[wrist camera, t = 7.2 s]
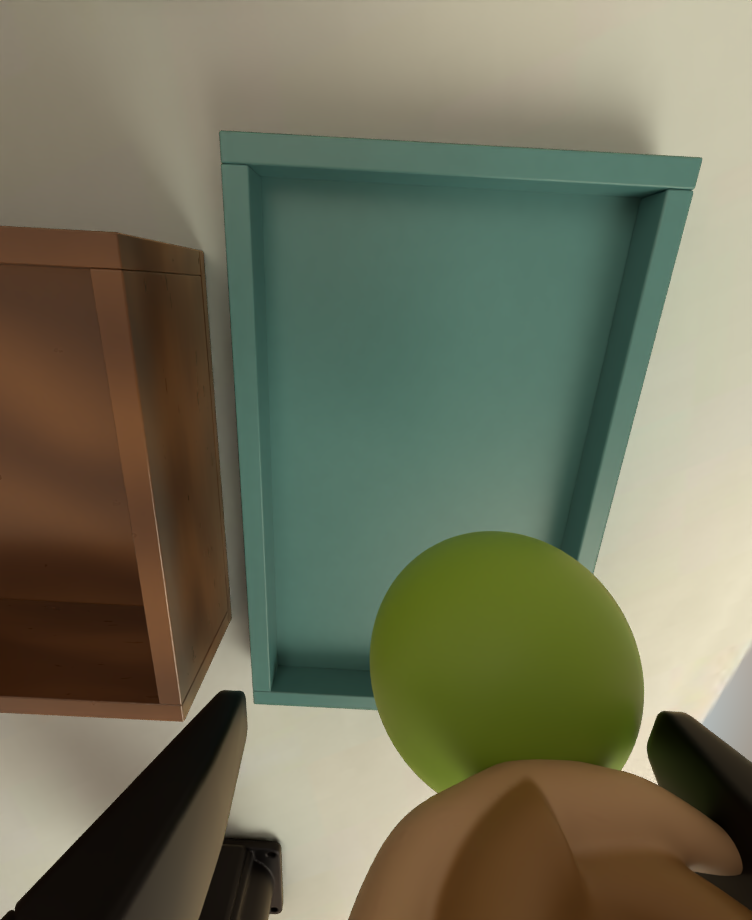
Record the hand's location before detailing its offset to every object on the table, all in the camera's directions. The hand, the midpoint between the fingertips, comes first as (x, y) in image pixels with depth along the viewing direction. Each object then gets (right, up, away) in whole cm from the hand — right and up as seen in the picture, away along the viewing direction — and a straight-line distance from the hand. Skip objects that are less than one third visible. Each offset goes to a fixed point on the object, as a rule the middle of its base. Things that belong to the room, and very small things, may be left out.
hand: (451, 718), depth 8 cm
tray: (+1, +4, +10) cm, 11 cm away
